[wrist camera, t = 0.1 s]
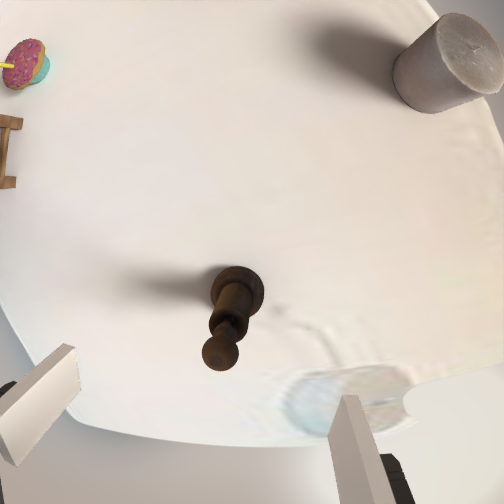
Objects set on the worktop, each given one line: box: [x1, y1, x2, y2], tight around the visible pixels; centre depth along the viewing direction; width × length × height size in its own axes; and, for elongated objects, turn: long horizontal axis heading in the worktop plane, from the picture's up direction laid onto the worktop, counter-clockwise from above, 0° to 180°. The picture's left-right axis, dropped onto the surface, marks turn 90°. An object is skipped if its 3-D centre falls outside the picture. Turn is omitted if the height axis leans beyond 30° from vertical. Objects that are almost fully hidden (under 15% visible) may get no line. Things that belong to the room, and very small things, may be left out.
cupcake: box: [0, 38, 50, 90], centre depth 31 cm, size 9×8×12 cm
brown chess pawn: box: [202, 266, 264, 371], centre depth 33 cm, size 7×6×18 cm
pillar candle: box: [392, 13, 504, 114], centre depth 27 cm, size 10×10×15 cm
